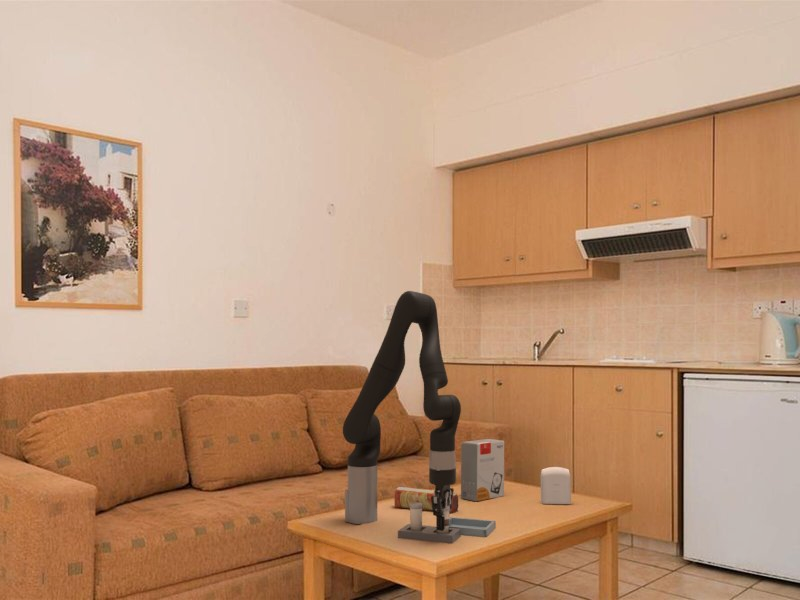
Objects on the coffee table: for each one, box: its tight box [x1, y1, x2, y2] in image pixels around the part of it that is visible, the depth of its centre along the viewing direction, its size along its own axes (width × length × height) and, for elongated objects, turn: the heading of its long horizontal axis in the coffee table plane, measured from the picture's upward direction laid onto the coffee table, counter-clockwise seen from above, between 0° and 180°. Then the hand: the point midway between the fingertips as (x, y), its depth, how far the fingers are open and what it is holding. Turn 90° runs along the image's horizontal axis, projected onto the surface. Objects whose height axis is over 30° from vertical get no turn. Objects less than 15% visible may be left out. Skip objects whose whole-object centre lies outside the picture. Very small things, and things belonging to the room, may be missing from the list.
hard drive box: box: [460, 438, 505, 502], centre depth 264 cm, size 16×8×20 cm, turn 132°
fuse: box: [409, 502, 423, 531], centre depth 211 cm, size 4×4×9 cm
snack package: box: [394, 486, 459, 514], centre depth 246 cm, size 21×7×7 cm, turn 67°
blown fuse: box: [437, 504, 450, 534], centre depth 208 cm, size 4×4×9 cm
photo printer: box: [540, 466, 572, 505], centre depth 254 cm, size 10×4×12 cm, turn 84°
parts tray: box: [449, 516, 497, 538], centre depth 216 cm, size 14×11×2 cm
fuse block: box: [397, 523, 462, 544], centre depth 209 cm, size 16×8×2 cm, turn 69°
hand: (442, 528), depth 208 cm, fingers closed on blown fuse, 3 cm apart
